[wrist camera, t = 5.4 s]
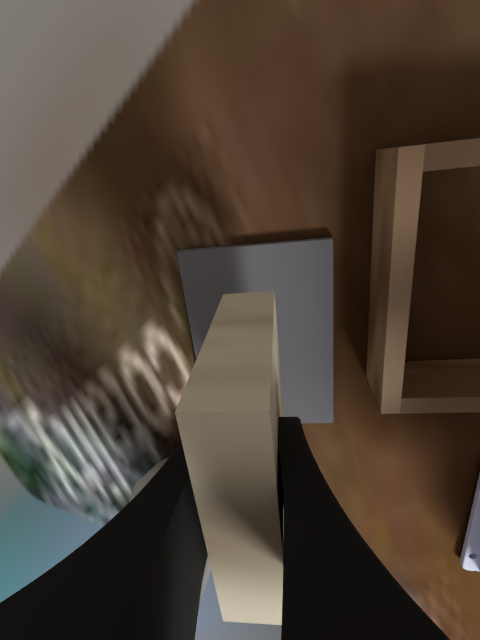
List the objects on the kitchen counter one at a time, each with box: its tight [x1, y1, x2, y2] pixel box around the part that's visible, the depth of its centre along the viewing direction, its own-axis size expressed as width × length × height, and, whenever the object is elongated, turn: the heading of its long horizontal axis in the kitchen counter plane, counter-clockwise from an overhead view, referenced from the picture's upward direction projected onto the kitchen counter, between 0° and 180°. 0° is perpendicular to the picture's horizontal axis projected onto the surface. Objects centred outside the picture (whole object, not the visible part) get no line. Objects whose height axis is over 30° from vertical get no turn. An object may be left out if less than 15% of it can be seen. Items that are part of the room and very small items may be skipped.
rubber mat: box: [176, 237, 333, 423], centre depth 18 cm, size 10×7×1 cm
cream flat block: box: [175, 291, 284, 625], centre depth 12 cm, size 8×2×7 cm, turn 6°
